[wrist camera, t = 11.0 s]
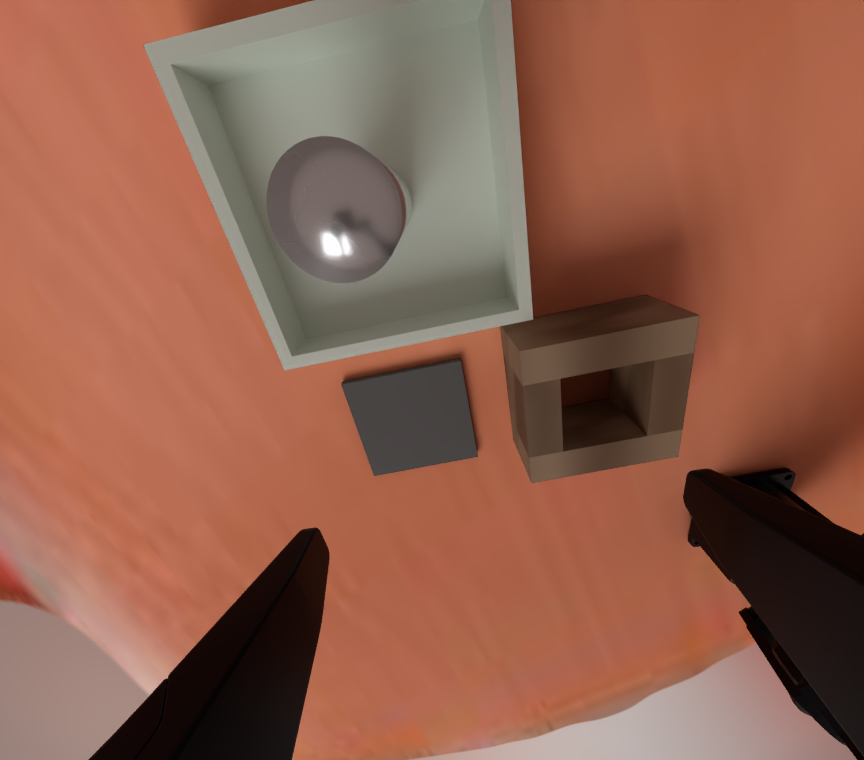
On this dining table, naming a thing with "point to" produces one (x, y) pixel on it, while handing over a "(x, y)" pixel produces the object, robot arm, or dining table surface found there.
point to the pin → (336, 209)
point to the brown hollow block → (628, 395)
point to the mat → (413, 416)
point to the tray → (382, 137)
